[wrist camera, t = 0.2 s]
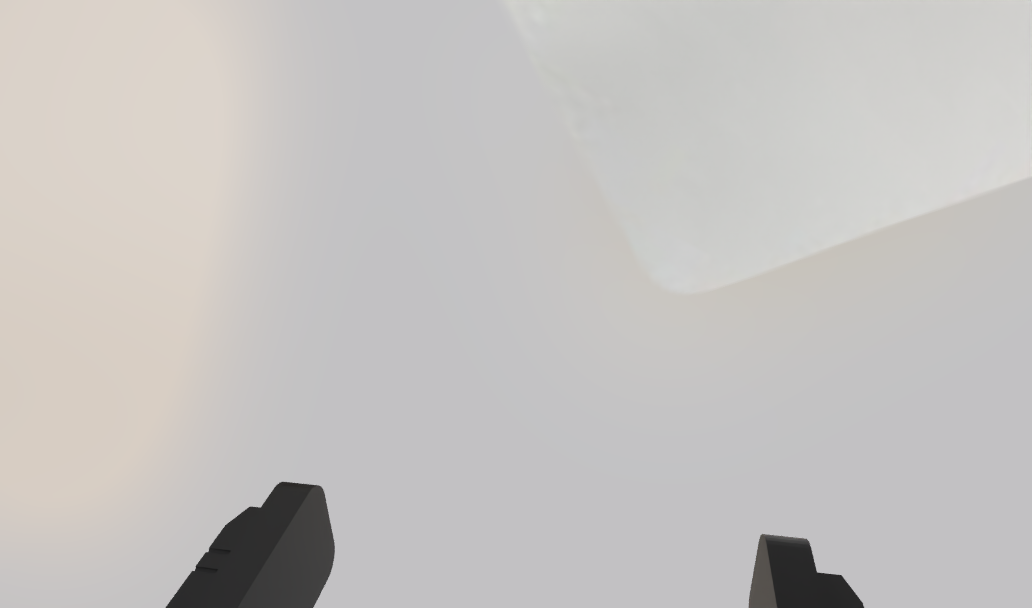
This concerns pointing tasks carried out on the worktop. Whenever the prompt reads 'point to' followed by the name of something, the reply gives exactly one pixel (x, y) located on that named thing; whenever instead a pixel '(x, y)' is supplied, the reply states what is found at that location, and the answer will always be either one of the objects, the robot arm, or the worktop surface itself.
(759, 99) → the worktop surface
